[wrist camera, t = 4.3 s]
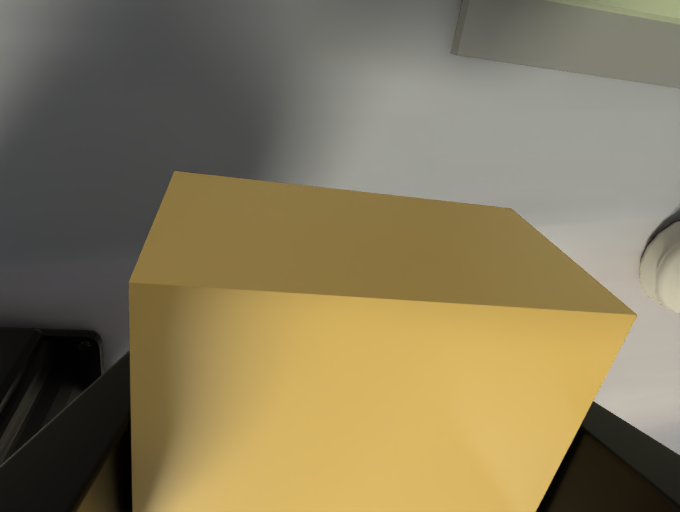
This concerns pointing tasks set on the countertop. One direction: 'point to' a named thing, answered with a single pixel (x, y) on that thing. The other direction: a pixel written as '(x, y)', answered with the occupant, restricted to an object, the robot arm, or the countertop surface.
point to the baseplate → (576, 36)
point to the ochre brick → (355, 352)
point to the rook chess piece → (663, 268)
